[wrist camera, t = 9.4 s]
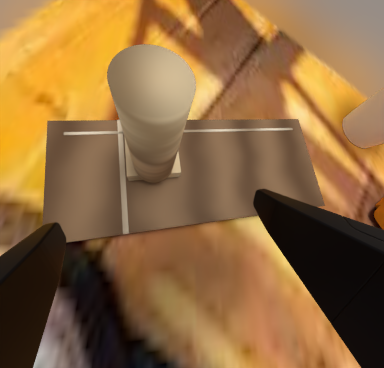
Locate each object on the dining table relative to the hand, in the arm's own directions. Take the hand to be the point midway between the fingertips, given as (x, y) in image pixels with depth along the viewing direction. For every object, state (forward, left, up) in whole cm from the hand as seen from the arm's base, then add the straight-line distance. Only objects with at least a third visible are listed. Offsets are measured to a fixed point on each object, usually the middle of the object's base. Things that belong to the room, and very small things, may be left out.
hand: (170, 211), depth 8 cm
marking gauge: (+8, +4, -12) cm, 14 cm away
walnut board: (+7, -2, -12) cm, 14 cm away
